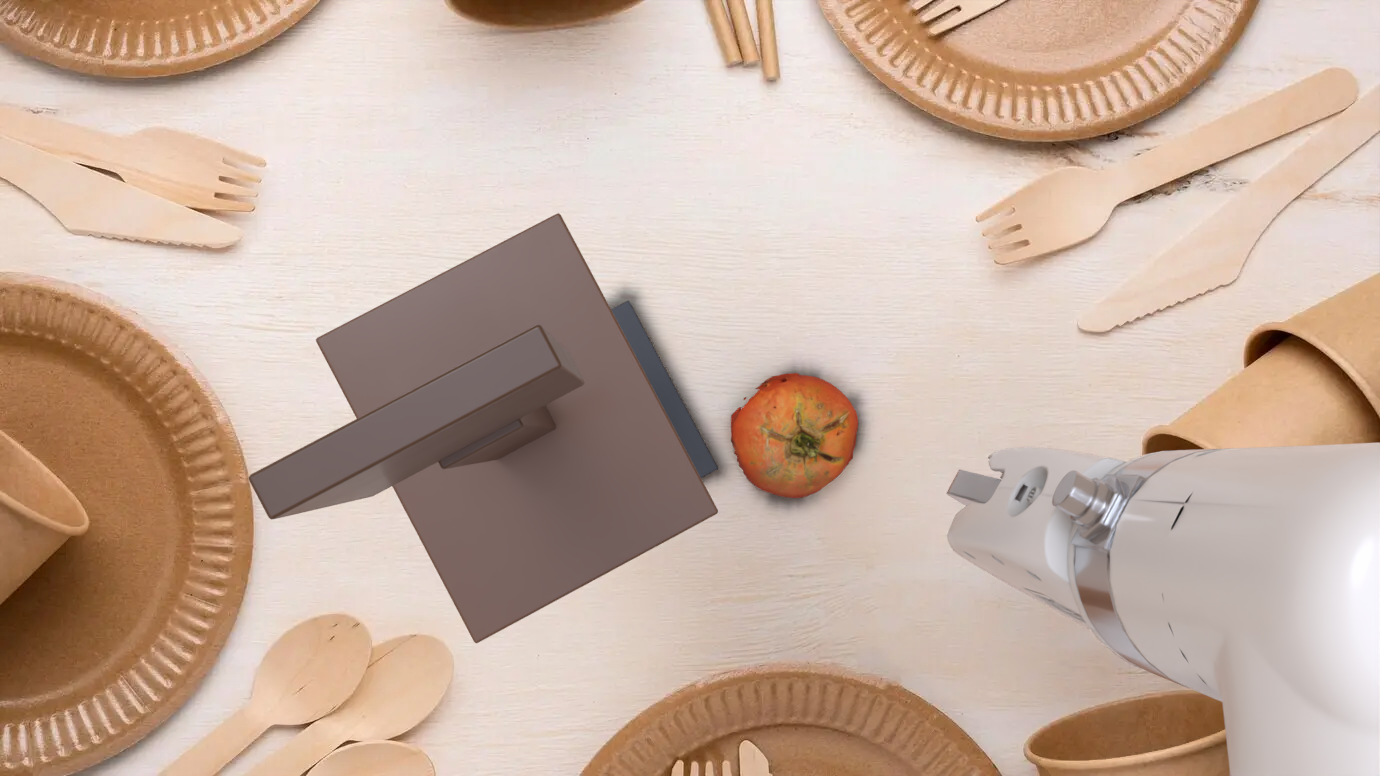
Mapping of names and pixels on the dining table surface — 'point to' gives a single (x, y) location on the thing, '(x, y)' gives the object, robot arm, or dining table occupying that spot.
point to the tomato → (794, 435)
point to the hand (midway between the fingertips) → (1011, 532)
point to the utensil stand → (507, 429)
